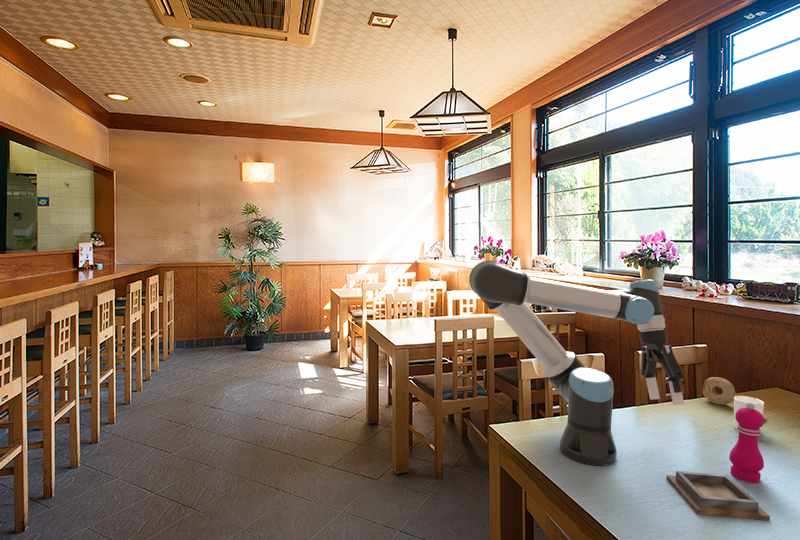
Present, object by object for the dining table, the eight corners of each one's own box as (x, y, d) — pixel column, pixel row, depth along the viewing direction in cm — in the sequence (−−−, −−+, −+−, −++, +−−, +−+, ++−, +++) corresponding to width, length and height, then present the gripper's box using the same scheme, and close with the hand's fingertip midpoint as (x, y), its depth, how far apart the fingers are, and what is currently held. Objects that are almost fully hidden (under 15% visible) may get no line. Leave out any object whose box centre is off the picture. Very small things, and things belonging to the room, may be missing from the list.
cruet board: (697, 513, 101) (698, 501, 101) (666, 478, 116) (667, 467, 116) (769, 520, 99) (770, 507, 99) (728, 483, 114) (729, 472, 114)
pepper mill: (728, 466, 123) (734, 395, 122) (762, 475, 118) (768, 402, 117) (727, 477, 117) (732, 403, 116) (762, 487, 113) (768, 410, 111)
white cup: (767, 435, 143) (769, 405, 143) (739, 433, 145) (741, 403, 144) (753, 425, 151) (755, 396, 150) (727, 423, 153) (729, 394, 152)
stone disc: (700, 400, 174) (702, 375, 174) (703, 398, 177) (705, 373, 176) (732, 408, 166) (734, 382, 165) (735, 406, 169) (737, 380, 168)
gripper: (687, 326, 124) (704, 405, 121) (645, 330, 149) (658, 396, 145) (660, 329, 125) (675, 407, 121) (622, 332, 149) (634, 398, 145)
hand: (666, 401), depth 133 cm, fingers open, 13 cm apart
